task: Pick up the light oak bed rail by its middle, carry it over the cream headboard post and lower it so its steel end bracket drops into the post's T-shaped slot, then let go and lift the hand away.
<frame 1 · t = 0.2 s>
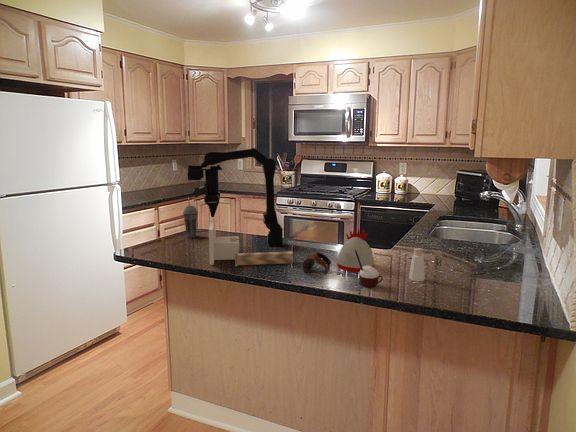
hand: (213, 215, 187), 15 cm above the countertop, tool pointing down, fingers open, 9 cm apart
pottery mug: (314, 272, 154), on the countertop
headboard post: (227, 255, 175), on the countertop
beverage cup: (191, 236, 210), on the countertop
cocoa: (367, 286, 140), on the countertop
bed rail: (265, 263, 165), on the countertop
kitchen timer: (355, 267, 161), on the countertop
pepper shaker: (416, 279, 147), on the countertop
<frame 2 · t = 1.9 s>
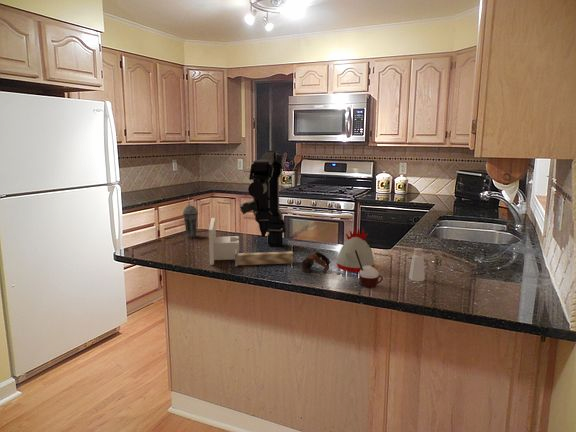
hand: (262, 233, 163), 12 cm above the countertop, tool pointing down, fingers open, 9 cm apart
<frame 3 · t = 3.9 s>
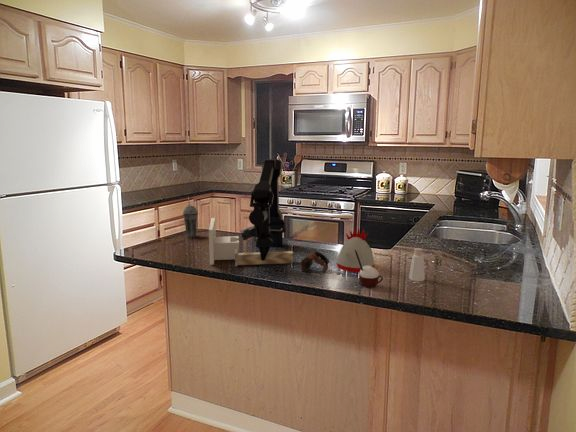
hand: (262, 259, 165), 2 cm above the countertop, tool pointing down, fingers closed on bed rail, 3 cm apart
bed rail: (265, 262, 165), on the countertop, touching gripper
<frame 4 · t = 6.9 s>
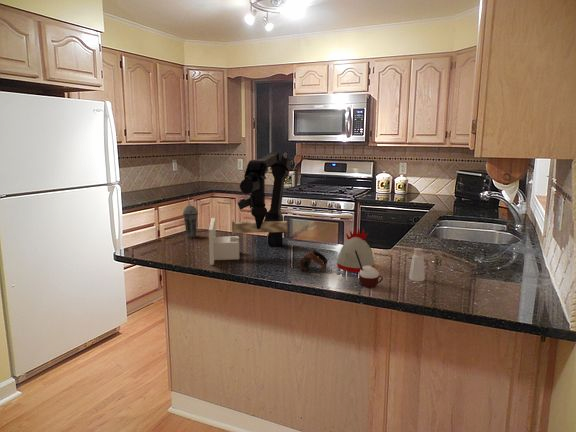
hand: (258, 228, 175), 11 cm above the countertop, tool pointing down, fingers closed on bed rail, 3 cm apart
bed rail: (260, 231, 175), point 10 cm above the countertop, touching gripper
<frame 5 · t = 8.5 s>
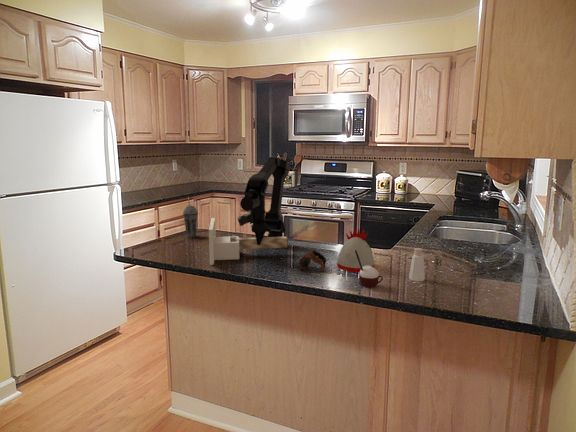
hand: (258, 243, 176), 5 cm above the countertop, tool pointing down, fingers closed on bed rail, 3 cm apart
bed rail: (260, 247, 176), point 3 cm above the countertop, touching gripper
when the fingers open (2 cm above the countertop, at t = 9.7 s): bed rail drops 1 cm, on the countertop.
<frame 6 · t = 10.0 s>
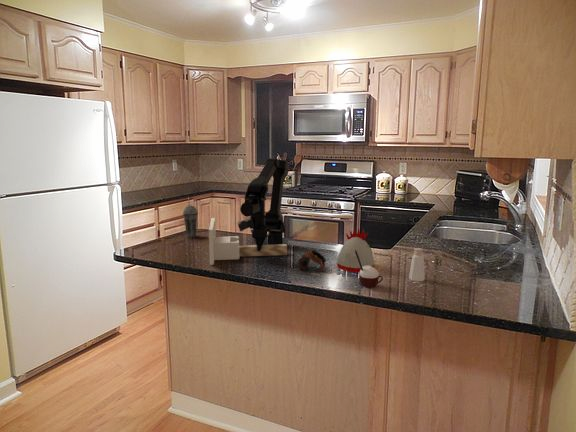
hand: (258, 249, 176), 2 cm above the countertop, tool pointing down, fingers open, 6 cm apart
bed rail: (260, 254, 177), on the countertop
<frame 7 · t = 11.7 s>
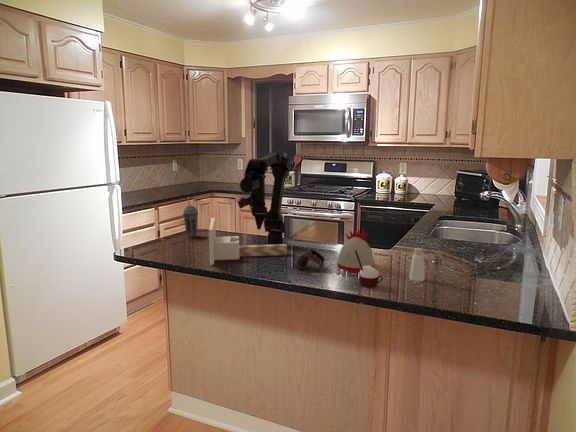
hand: (258, 227, 175), 12 cm above the countertop, tool pointing down, fingers open, 9 cm apart
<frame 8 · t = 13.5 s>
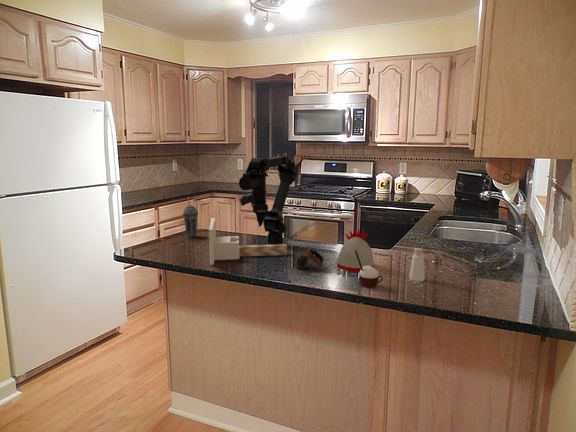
hand: (259, 224, 180), 12 cm above the countertop, tool pointing down, fingers open, 9 cm apart
at the end: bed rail 0.1 cm from the target spot on the countertop beside the headboard post, on the countertop; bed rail tilted 0°; the gripper is holding nothing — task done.
